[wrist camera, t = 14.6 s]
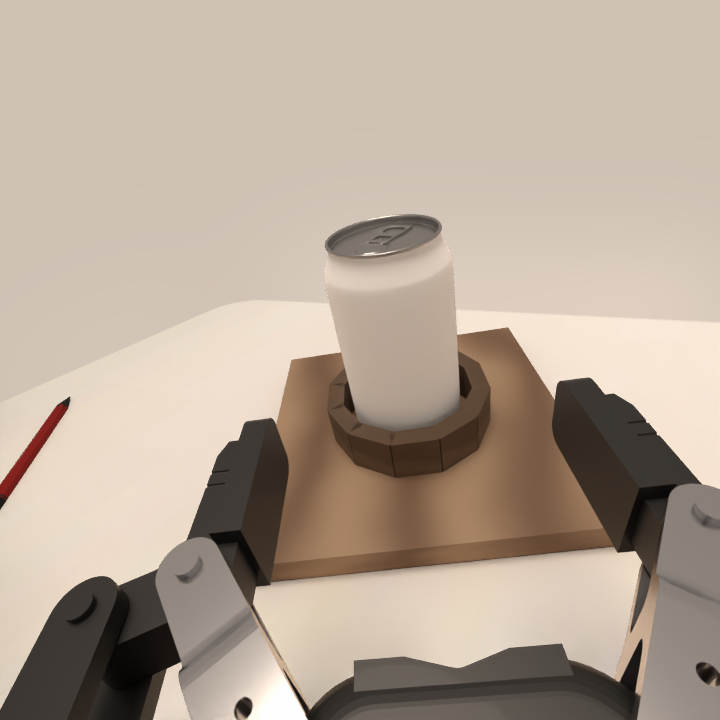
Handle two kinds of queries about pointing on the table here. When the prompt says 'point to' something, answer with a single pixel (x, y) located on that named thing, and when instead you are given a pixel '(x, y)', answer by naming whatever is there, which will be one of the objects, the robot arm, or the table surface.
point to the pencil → (31, 451)
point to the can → (395, 319)
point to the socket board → (427, 473)
